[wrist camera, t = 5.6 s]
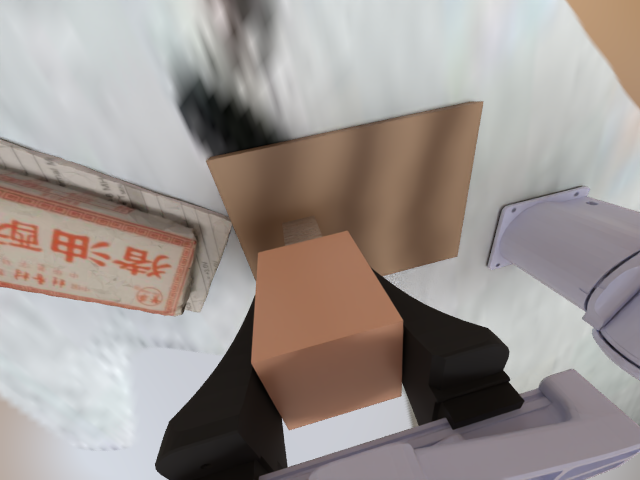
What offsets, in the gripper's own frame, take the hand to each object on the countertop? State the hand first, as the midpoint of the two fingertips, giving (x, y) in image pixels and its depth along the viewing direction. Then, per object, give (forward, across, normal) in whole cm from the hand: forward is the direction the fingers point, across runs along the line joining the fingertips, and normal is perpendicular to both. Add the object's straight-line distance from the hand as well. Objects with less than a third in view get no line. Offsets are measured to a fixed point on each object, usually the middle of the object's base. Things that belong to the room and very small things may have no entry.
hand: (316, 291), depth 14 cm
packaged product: (+9, +15, -4) cm, 18 cm away
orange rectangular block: (+1, 0, 0) cm, 1 cm away
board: (+8, -5, 0) cm, 10 cm away
